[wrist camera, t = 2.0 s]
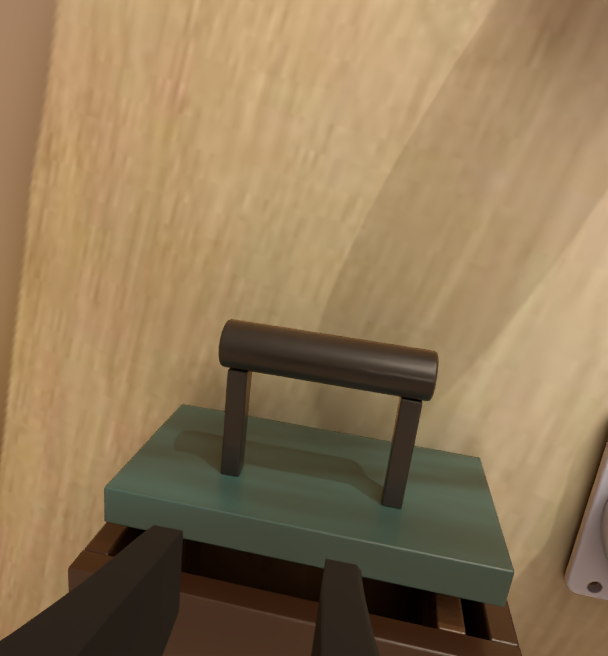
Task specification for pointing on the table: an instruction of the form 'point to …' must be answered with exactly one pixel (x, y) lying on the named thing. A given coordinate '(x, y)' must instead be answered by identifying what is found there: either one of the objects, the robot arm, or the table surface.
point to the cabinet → (290, 617)
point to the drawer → (321, 486)
